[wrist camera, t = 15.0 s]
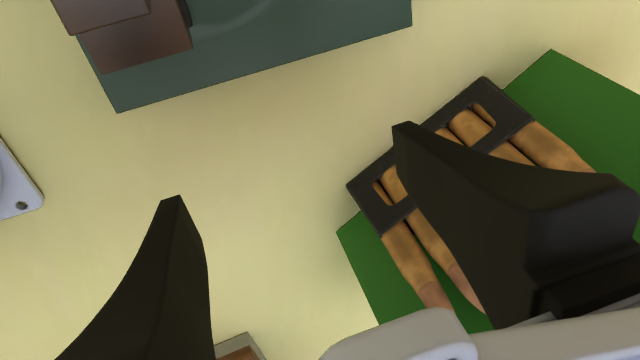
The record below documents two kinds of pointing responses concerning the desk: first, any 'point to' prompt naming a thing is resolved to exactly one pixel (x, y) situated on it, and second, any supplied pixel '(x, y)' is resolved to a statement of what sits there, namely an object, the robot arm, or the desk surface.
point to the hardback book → (560, 119)
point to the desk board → (250, 43)
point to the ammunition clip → (469, 126)
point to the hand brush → (127, 29)
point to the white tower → (238, 349)
